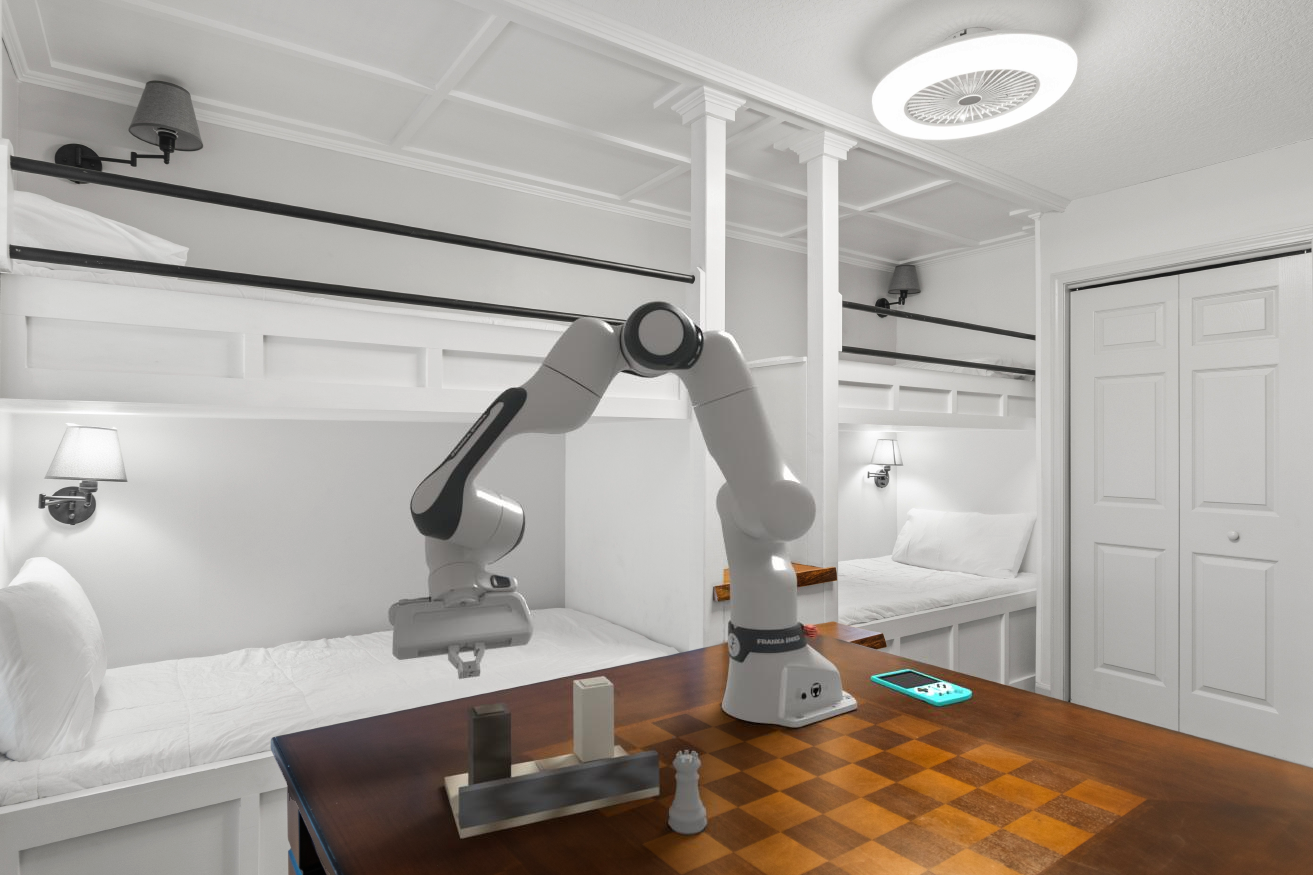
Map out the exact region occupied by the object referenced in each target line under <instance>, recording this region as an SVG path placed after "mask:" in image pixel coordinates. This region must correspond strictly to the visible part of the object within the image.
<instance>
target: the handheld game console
mask: <svg viewBox="0 0 1313 875" xmlns="http://www.w3.org/2000/svg"><path fill="white" fill-rule="evenodd" d="M870 680H871V681H872V682H874V683H876V684H879V685H882V686H884V687H887V688H889V689H892V690H894V691H897V692H900V693H902V694H905V695H908V696H910V697H912V698H914V699H918V700H921V701H923V702H926V703H928V704H930V705H934V706H935V707H943V706H947V705H951V704H952V705H953V704H956V703H960V702H965V701H968V700H970V699H971V698H972V697H973V692H972V691H971V690H970V689H968V688H965V687H963V686H959V685H956V684H953V683H951V682H948V681H944V680H942V679H938V678H936V677H933V676H931V675H927V674H924V673H921V672H918V671H916V670H913V669H909V668H907V669H901V670H900V669H899V670H897V671H896V670H895V671H891V672H886V673H881V674H880V673H879V674H875V675H872V676H871V677H870Z"/></svg>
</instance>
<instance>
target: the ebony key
mask: <svg viewBox="0 0 1313 875" xmlns="http://www.w3.org/2000/svg"><path fill="white" fill-rule="evenodd" d="M511 714H512V712H511V711H510V709H509V707H508V706H507V704H506V702H499V703H491V704H484V705H479V706H478V705H477V706H472V707H467V773H468V785H474V784H479V783H484V782H489V781H495V780H500V779H505V778H510V777H511V765H512V715H511Z"/></svg>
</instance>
